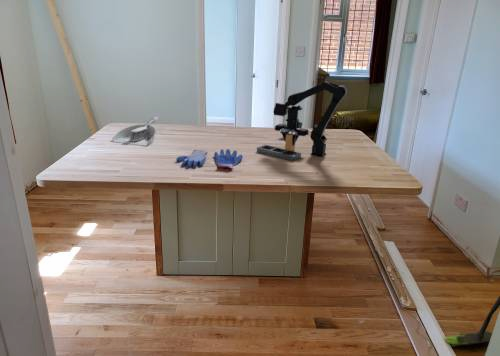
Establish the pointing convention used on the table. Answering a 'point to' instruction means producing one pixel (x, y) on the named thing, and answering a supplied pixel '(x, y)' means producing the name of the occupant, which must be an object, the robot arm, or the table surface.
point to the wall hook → (286, 125)
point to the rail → (279, 152)
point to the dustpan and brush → (137, 133)
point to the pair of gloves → (223, 160)
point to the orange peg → (289, 142)
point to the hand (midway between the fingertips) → (290, 144)
